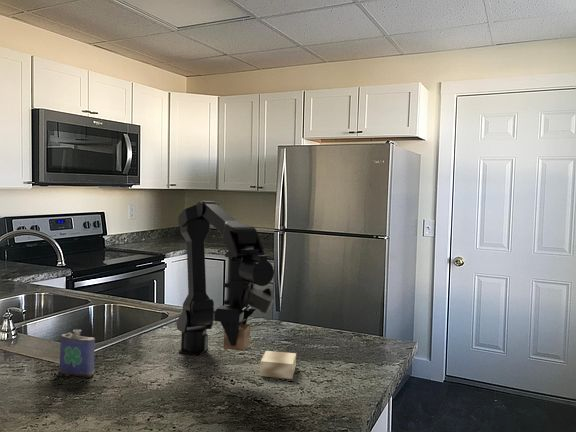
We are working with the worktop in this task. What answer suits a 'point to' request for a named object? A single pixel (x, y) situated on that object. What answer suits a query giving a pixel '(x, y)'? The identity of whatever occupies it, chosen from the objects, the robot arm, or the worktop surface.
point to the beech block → (278, 364)
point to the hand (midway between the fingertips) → (236, 342)
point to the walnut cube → (239, 338)
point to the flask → (77, 354)
